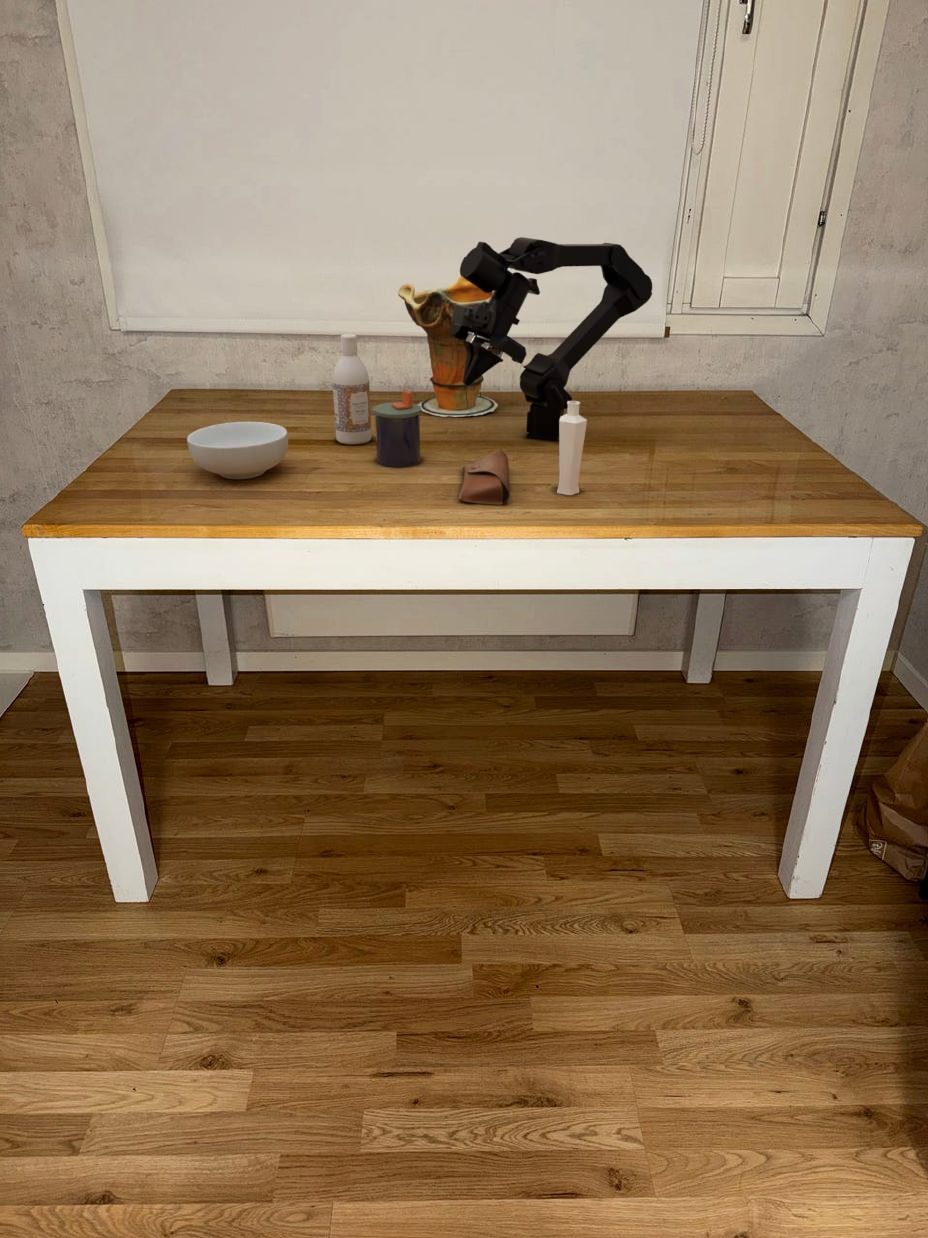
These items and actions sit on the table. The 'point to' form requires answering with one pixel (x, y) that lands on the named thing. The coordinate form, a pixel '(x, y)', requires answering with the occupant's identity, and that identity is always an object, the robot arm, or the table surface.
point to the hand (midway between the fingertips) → (465, 384)
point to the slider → (404, 401)
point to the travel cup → (397, 435)
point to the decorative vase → (447, 348)
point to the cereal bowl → (238, 448)
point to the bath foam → (351, 395)
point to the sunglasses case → (486, 480)
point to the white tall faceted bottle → (570, 448)
